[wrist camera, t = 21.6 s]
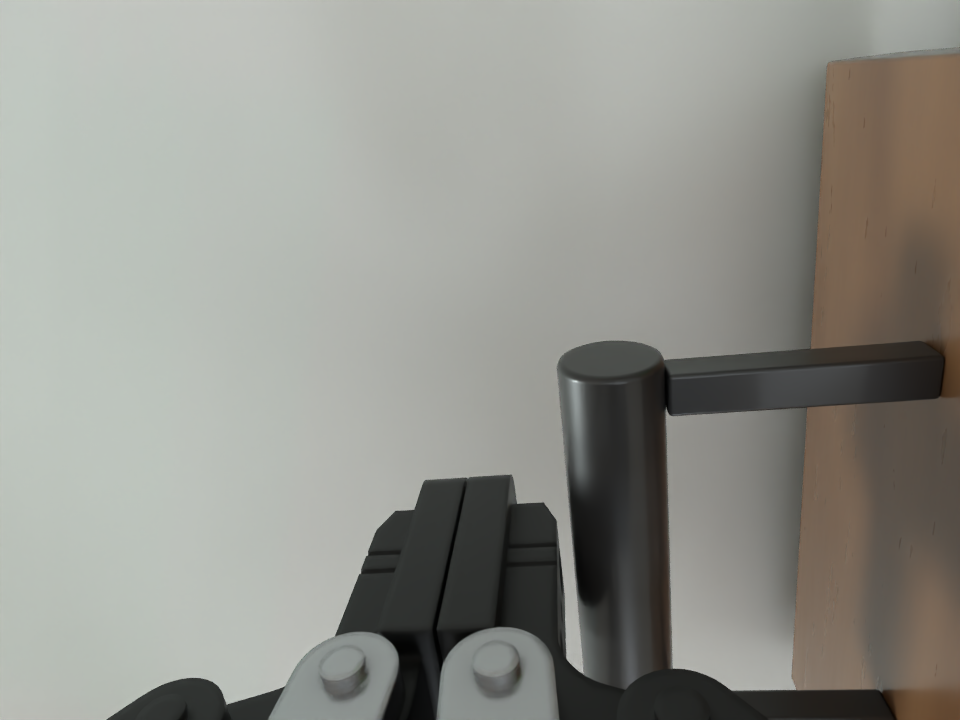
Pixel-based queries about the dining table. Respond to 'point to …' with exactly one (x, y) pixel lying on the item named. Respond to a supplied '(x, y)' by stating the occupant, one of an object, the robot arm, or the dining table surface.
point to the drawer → (813, 426)
